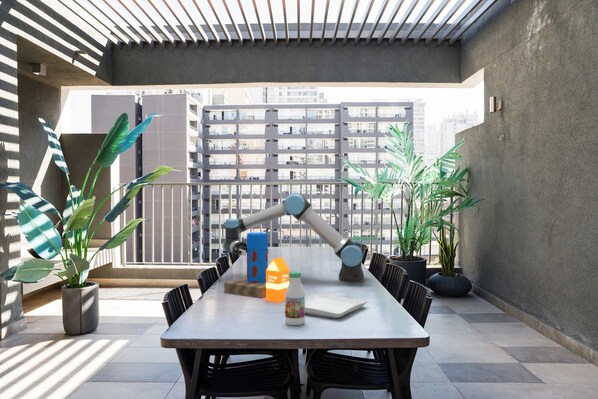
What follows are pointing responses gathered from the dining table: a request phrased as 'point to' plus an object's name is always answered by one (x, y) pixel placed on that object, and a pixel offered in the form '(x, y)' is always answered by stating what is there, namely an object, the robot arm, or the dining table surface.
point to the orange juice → (277, 280)
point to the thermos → (257, 257)
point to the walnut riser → (245, 288)
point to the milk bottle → (295, 301)
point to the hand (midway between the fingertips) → (256, 252)
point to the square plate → (331, 305)
